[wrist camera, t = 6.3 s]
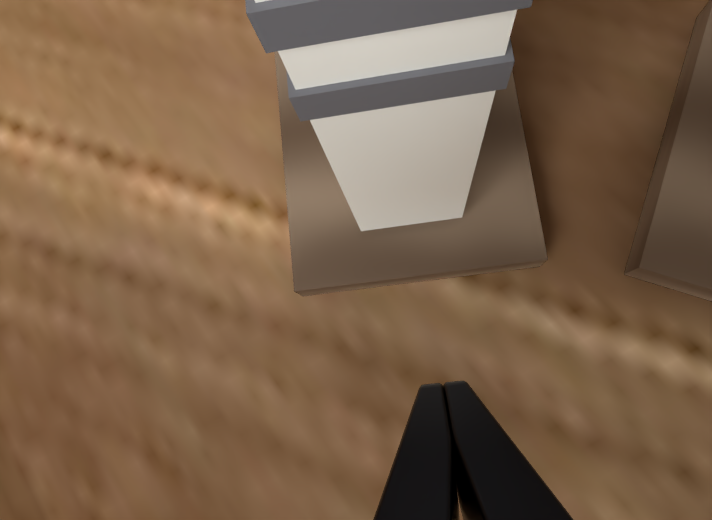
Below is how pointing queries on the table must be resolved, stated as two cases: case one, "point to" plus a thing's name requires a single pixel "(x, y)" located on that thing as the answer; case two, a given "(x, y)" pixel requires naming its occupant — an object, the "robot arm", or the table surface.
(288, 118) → the base
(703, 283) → the base
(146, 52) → the table surface
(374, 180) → the post
